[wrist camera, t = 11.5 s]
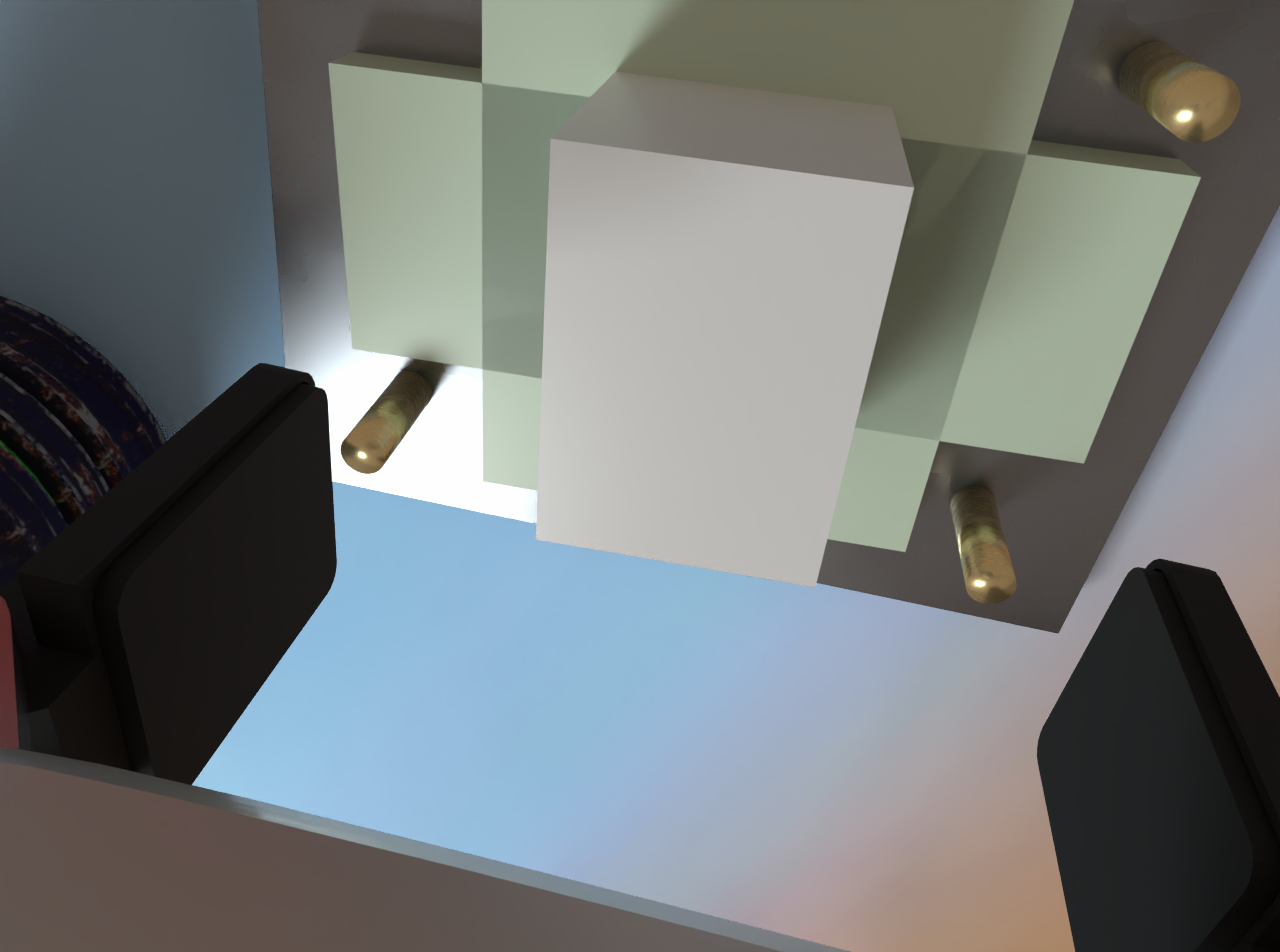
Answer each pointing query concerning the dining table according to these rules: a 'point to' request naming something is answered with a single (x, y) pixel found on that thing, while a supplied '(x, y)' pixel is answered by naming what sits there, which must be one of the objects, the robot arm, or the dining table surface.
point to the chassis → (960, 474)
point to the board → (960, 266)
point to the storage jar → (59, 431)
